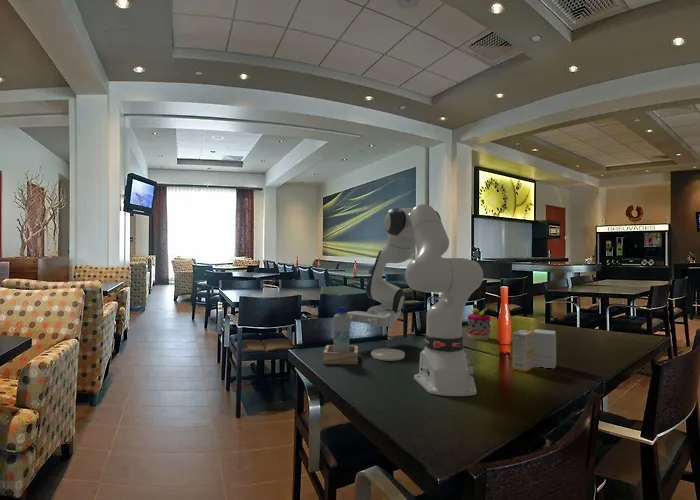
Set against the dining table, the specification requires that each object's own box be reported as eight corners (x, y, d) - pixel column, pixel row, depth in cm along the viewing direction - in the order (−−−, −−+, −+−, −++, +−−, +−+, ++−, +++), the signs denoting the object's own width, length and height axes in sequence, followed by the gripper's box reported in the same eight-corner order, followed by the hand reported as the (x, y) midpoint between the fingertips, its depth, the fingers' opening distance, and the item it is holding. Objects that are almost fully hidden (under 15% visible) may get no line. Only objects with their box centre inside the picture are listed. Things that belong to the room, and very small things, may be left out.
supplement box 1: (521, 365, 147) (521, 329, 147) (535, 367, 143) (535, 331, 143) (511, 369, 141) (512, 332, 141) (525, 372, 137) (525, 334, 137)
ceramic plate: (406, 361, 151) (406, 357, 151) (371, 360, 151) (371, 356, 151) (402, 352, 164) (402, 348, 164) (370, 351, 164) (370, 348, 164)
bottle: (350, 357, 155) (351, 305, 155) (349, 362, 148) (349, 308, 148) (333, 357, 156) (334, 305, 156) (331, 361, 149) (331, 307, 149)
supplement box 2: (556, 365, 147) (556, 330, 147) (554, 370, 141) (554, 334, 141) (534, 362, 151) (534, 328, 151) (531, 366, 145) (531, 331, 145)
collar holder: (357, 364, 145) (357, 353, 145) (323, 363, 146) (323, 352, 146) (357, 355, 158) (357, 345, 158) (326, 355, 158) (326, 344, 158)
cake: (468, 340, 189) (469, 308, 189) (466, 335, 199) (466, 305, 199) (492, 341, 187) (492, 308, 187) (488, 336, 197) (488, 305, 197)
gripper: (356, 306, 179) (338, 310, 168) (397, 311, 168) (380, 315, 156) (356, 320, 180) (338, 325, 168) (397, 326, 168) (380, 332, 156)
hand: (358, 320), depth 162 cm, fingers open, 8 cm apart
